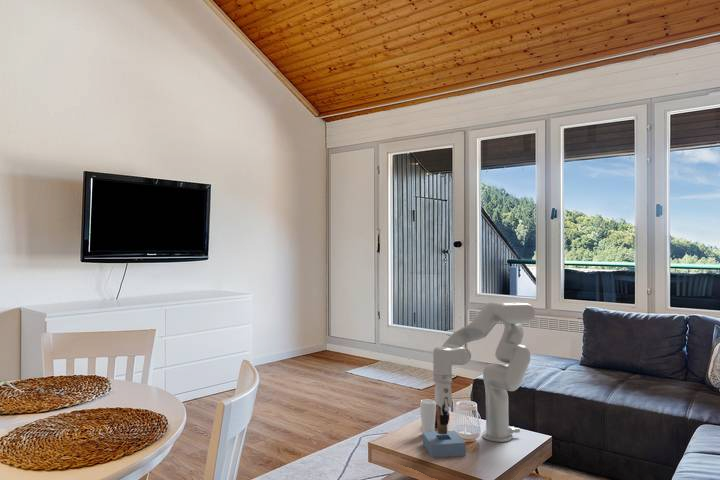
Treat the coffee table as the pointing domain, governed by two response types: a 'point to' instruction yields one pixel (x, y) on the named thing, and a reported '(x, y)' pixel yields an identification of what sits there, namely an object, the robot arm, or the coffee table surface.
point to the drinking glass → (428, 415)
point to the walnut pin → (440, 428)
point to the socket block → (444, 444)
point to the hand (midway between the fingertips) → (442, 422)
